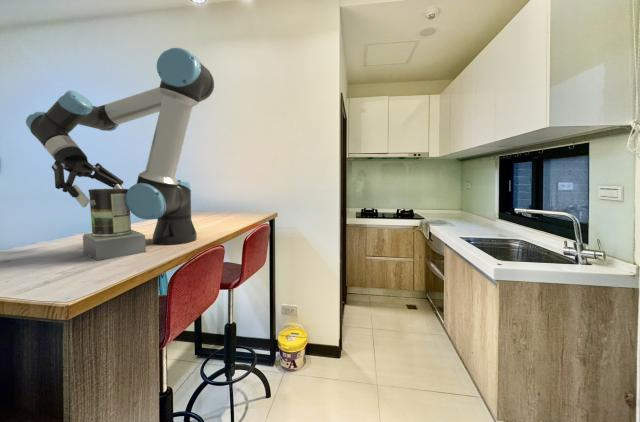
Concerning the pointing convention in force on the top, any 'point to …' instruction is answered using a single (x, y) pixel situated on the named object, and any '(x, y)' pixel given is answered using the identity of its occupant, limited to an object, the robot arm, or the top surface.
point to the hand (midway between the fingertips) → (108, 202)
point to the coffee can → (109, 212)
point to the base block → (114, 245)
